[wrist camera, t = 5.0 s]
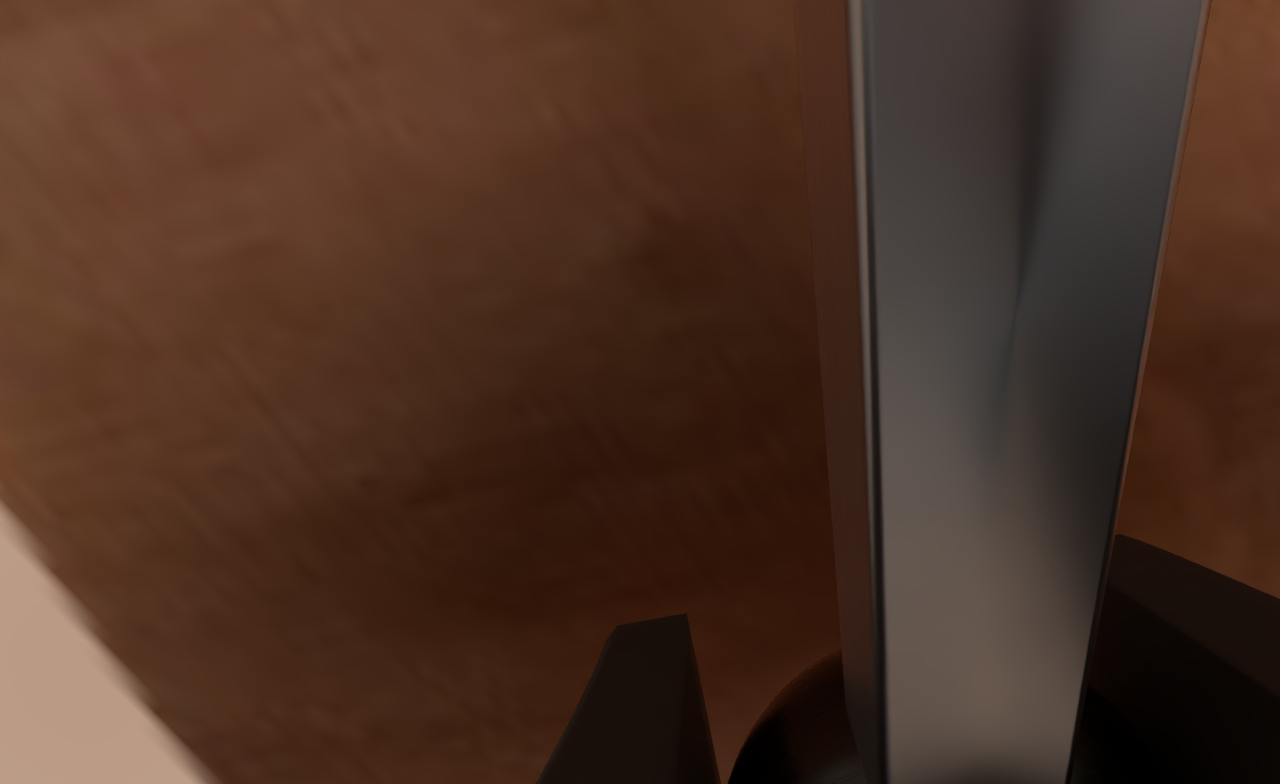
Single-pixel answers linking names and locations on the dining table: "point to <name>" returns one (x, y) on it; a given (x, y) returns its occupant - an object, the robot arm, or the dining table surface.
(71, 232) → the dining table surface
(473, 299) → the dining table surface
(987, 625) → the lever
